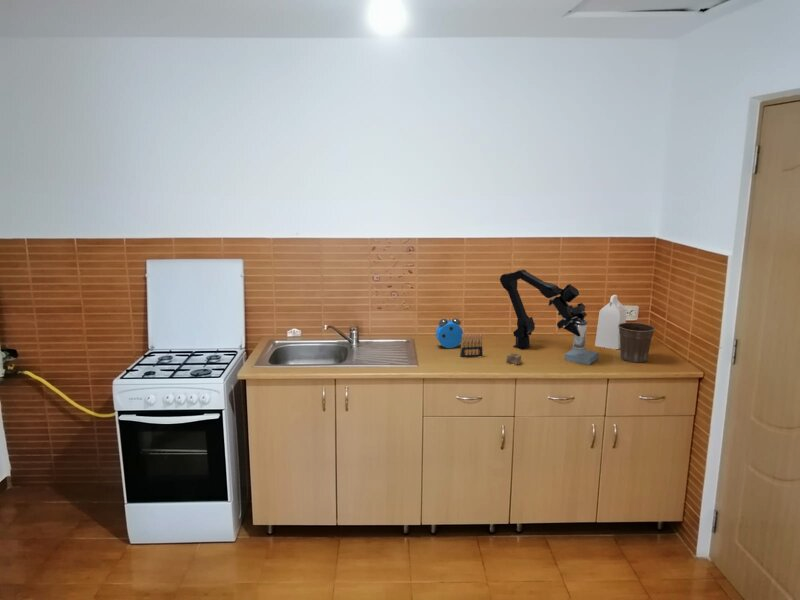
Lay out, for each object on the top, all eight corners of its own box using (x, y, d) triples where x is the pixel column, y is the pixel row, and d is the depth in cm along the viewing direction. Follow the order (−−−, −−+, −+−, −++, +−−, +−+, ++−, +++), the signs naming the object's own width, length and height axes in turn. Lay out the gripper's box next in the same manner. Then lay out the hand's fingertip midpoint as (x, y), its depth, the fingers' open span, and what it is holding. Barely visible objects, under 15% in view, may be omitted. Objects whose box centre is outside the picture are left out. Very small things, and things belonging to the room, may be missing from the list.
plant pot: (610, 353, 297) (613, 321, 293) (643, 353, 297) (646, 322, 293) (622, 364, 281) (625, 331, 277) (657, 364, 281) (660, 331, 277)
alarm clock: (460, 344, 311) (460, 316, 308) (463, 348, 305) (464, 319, 302) (435, 345, 309) (435, 317, 305) (438, 349, 303) (438, 320, 299)
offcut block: (506, 363, 282) (506, 355, 281) (510, 360, 286) (511, 352, 285) (516, 365, 279) (516, 357, 278) (520, 362, 283) (521, 354, 282)
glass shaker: (571, 348, 282) (573, 321, 280) (574, 345, 287) (576, 318, 284) (583, 350, 280) (586, 323, 277) (586, 347, 285) (588, 320, 282)
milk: (602, 340, 319) (606, 292, 313) (624, 344, 312) (629, 295, 306) (594, 345, 309) (598, 296, 304) (617, 349, 303) (622, 299, 297)
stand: (564, 359, 287) (565, 353, 287) (574, 353, 297) (574, 347, 296) (589, 364, 280) (589, 358, 279) (598, 358, 289) (598, 352, 289)
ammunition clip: (481, 355, 294) (482, 331, 291) (482, 356, 292) (483, 332, 289) (460, 356, 292) (460, 332, 289) (461, 357, 290) (461, 333, 288)
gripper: (564, 301, 275) (585, 329, 270) (584, 295, 287) (604, 321, 282) (548, 314, 282) (567, 342, 277) (568, 308, 295) (587, 334, 290)
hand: (582, 334), depth 281 cm, fingers closed on glass shaker, 5 cm apart
